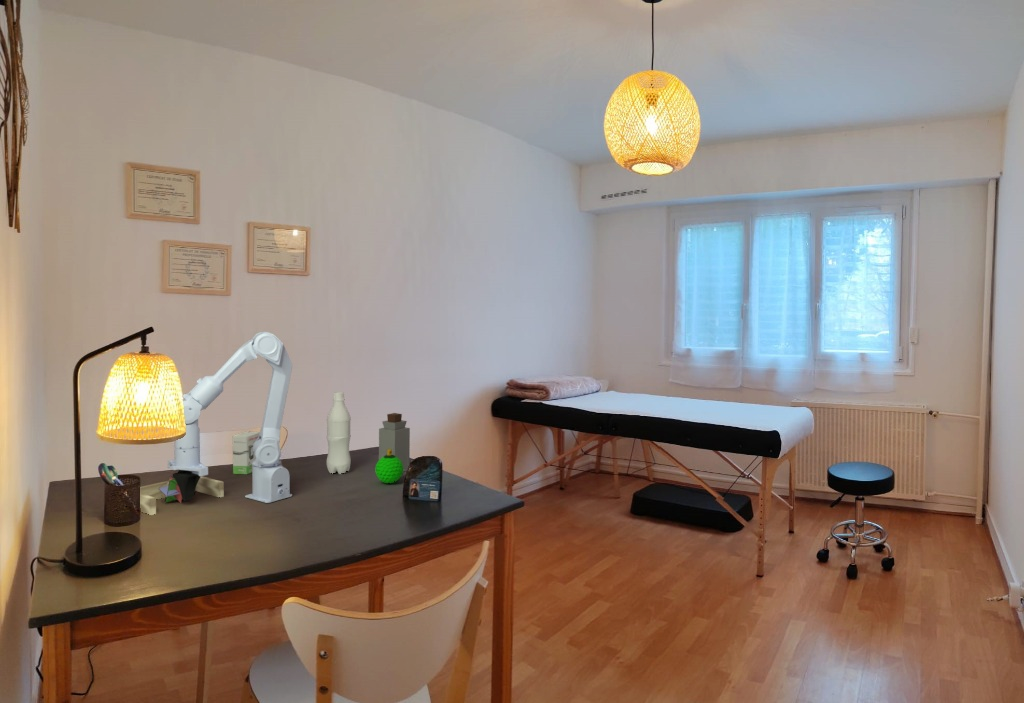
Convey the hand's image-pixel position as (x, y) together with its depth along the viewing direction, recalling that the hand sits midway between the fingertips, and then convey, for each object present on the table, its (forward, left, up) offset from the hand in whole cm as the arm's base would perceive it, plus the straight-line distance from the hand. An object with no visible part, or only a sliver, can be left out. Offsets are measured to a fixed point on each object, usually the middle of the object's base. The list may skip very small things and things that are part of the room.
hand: (187, 499), depth 160 cm
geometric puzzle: (+5, 0, -2) cm, 6 cm away
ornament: (-27, -45, -2) cm, 53 cm away
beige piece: (+5, 0, -1) cm, 5 cm away
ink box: (+18, -30, -2) cm, 35 cm away
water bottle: (-6, -45, -2) cm, 45 cm away
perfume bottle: (-18, -57, -2) cm, 60 cm away
